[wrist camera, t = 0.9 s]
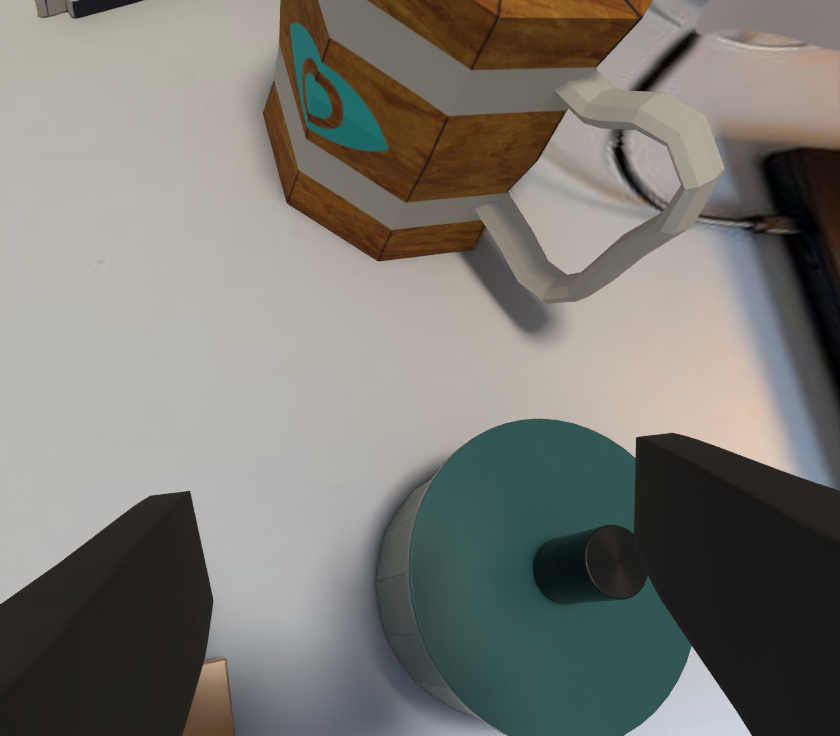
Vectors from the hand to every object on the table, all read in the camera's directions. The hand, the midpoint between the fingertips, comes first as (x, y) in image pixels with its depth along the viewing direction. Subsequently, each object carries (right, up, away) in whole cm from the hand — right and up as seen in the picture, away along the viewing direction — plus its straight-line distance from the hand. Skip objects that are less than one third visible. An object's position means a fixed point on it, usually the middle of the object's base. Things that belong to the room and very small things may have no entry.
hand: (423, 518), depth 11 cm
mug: (0, +11, +25) cm, 28 cm away
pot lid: (+5, -5, +13) cm, 15 cm away
